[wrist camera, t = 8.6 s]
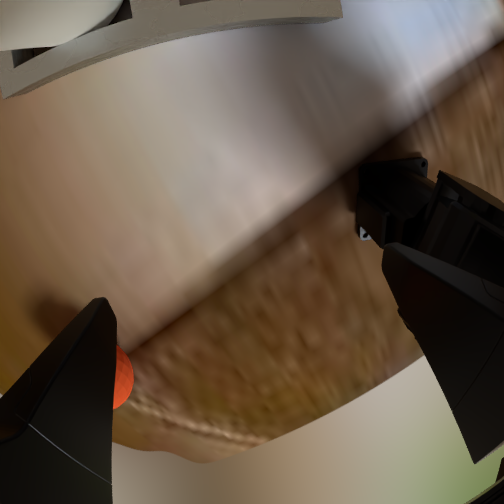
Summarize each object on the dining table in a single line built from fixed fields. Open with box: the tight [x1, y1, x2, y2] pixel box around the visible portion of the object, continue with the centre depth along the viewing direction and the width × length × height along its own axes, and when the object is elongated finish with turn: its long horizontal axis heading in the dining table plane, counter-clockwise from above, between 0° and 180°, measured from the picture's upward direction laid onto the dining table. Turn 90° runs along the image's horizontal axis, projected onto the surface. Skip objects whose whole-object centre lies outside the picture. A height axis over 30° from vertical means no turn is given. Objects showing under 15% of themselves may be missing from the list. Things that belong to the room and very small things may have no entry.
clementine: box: [113, 345, 134, 409], centre depth 24 cm, size 8×7×7 cm
